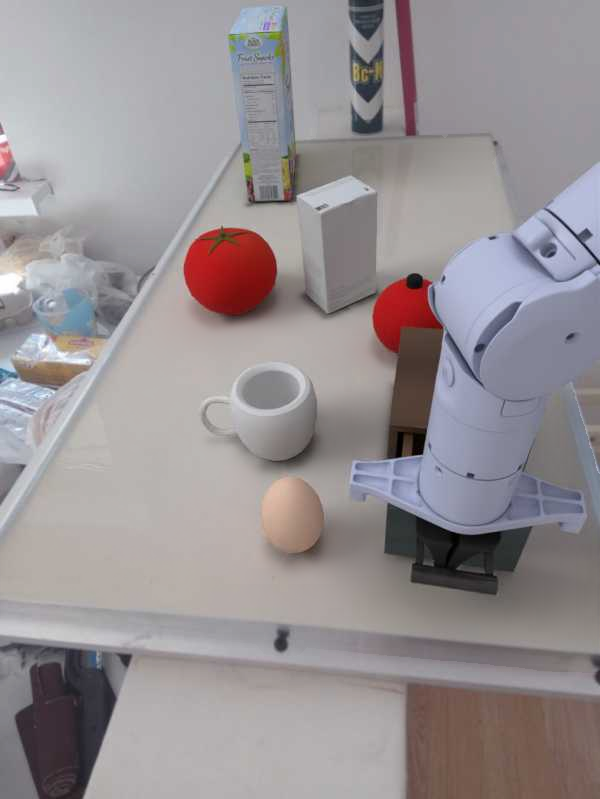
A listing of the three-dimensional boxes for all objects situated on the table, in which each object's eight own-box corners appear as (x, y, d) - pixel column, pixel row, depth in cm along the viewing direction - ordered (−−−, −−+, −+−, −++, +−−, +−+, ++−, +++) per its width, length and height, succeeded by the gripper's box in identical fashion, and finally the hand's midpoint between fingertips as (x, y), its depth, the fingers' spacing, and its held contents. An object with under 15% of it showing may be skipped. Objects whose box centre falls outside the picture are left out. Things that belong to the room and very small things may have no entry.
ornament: (457, 335, 67) (468, 263, 60) (432, 381, 61) (441, 308, 54) (388, 318, 70) (392, 248, 63) (359, 359, 65) (359, 288, 58)
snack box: (296, 202, 96) (281, 29, 78) (247, 205, 97) (222, 35, 79) (299, 154, 111) (288, 1, 93) (257, 157, 112) (238, 6, 94)
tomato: (181, 298, 77) (163, 229, 70) (258, 270, 81) (248, 202, 73) (212, 339, 70) (194, 267, 63) (294, 307, 74) (287, 235, 66)
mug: (321, 411, 59) (317, 356, 54) (317, 473, 53) (313, 418, 48) (213, 411, 61) (199, 357, 55) (198, 472, 55) (180, 418, 49)
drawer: (517, 625, 41) (538, 583, 36) (378, 602, 43) (381, 559, 38) (505, 453, 52) (520, 404, 47) (396, 441, 54) (400, 393, 50)
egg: (337, 548, 47) (334, 493, 42) (284, 579, 46) (274, 525, 40) (306, 505, 51) (299, 449, 45) (256, 533, 49) (242, 477, 43)
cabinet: (513, 501, 49) (535, 439, 43) (385, 485, 52) (389, 424, 46) (505, 397, 59) (522, 334, 53) (397, 387, 61) (401, 326, 55)
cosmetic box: (352, 276, 78) (351, 172, 67) (378, 295, 74) (381, 188, 64) (302, 296, 75) (293, 191, 65) (326, 317, 71) (320, 209, 61)
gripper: (598, 407, 33) (540, 528, 43) (360, 381, 36) (355, 501, 45) (622, 503, 28) (550, 616, 38) (344, 465, 31) (342, 580, 40)
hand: (444, 559), depth 41 cm, fingers closed, pressing on drawer
